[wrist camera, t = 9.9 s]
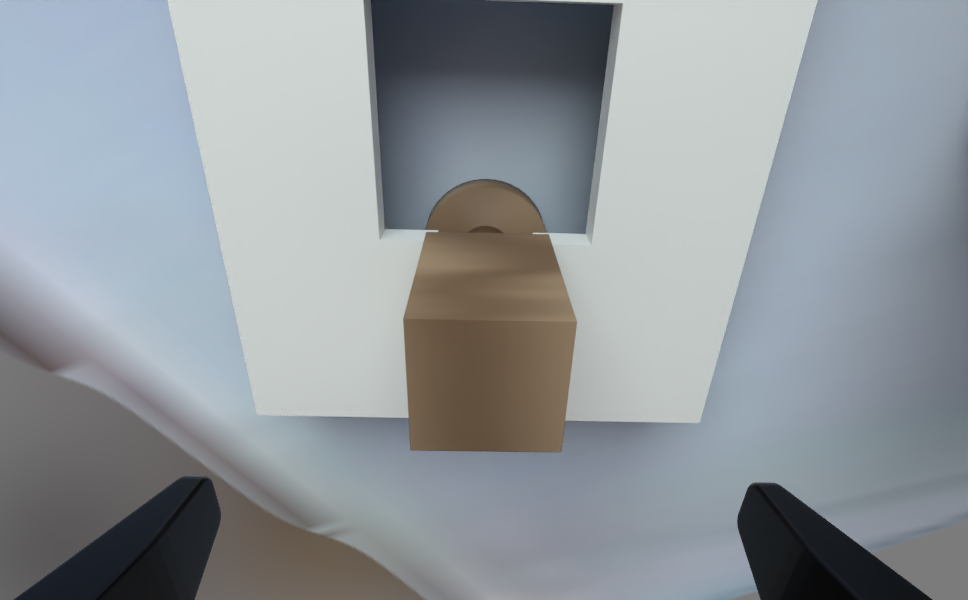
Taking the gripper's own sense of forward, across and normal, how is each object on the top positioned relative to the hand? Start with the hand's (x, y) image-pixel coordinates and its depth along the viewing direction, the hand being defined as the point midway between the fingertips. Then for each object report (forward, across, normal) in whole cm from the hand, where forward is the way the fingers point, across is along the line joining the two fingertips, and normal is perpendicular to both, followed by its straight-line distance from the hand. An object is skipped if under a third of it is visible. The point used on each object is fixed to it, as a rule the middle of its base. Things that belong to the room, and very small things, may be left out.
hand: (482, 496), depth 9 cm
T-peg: (+12, 0, 0) cm, 12 cm away
